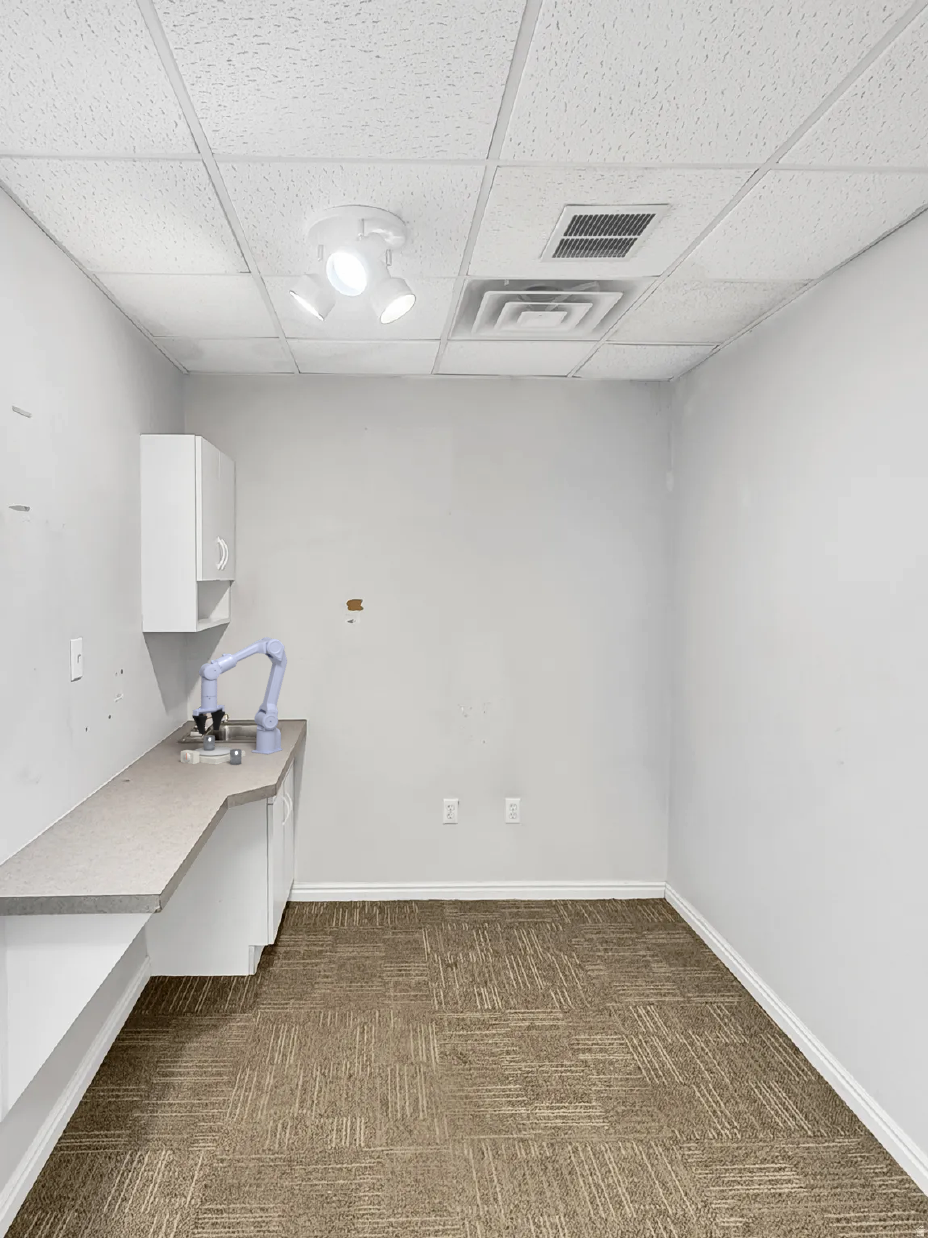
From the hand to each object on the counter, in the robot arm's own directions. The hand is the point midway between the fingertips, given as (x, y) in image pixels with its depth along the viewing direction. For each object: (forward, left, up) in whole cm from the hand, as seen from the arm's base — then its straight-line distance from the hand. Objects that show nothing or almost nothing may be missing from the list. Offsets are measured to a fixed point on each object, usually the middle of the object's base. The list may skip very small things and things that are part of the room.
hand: (208, 732), depth 312 cm
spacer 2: (+3, +15, -9) cm, 18 cm away
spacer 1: (0, 0, -7) cm, 7 cm away
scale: (+2, +2, -9) cm, 10 cm away
